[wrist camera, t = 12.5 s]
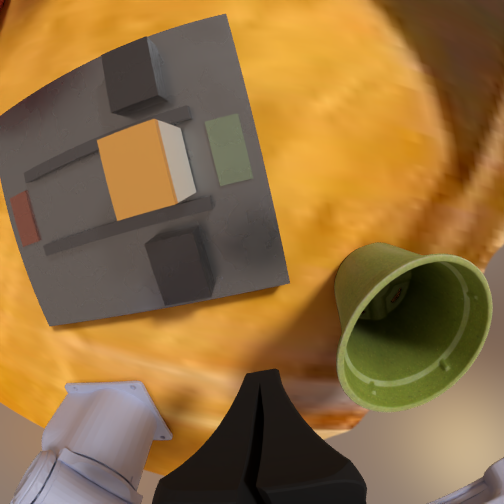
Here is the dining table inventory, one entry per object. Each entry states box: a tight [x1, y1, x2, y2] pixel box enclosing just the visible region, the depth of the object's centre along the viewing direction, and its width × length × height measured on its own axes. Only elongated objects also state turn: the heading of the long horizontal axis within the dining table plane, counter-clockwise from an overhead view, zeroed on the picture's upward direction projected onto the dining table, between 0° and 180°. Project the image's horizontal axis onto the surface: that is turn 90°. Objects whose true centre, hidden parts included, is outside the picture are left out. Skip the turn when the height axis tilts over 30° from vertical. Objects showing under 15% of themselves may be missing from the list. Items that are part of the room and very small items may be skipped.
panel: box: [0, 14, 290, 326], centre depth 18 cm, size 20×18×4 cm
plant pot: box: [334, 243, 493, 412], centre depth 18 cm, size 9×9×9 cm
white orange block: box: [97, 119, 196, 221], centre depth 15 cm, size 3×4×5 cm
